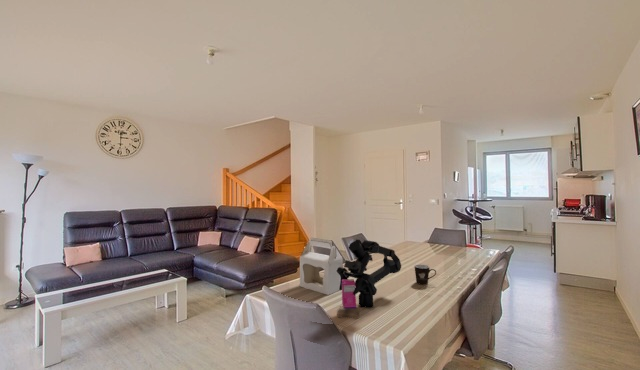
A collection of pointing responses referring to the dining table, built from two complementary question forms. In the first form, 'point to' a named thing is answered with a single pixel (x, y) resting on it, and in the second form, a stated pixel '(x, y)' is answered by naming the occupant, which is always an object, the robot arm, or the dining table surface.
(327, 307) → the dining table surface
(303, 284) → the gable box
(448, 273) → the dining table surface
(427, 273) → the coffee mug
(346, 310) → the walnut riser
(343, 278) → the robot arm
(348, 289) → the supplement box
